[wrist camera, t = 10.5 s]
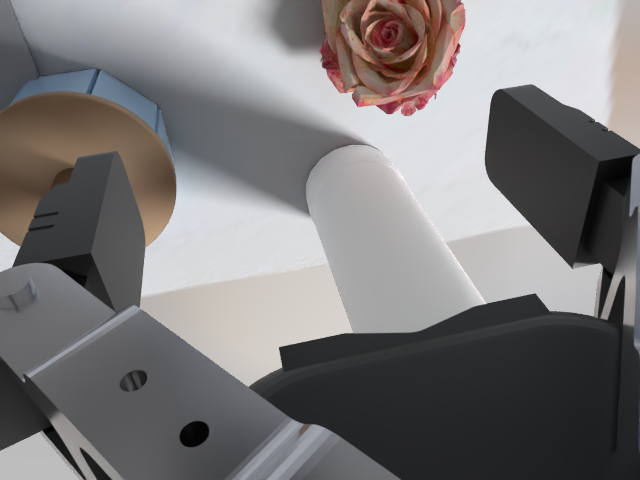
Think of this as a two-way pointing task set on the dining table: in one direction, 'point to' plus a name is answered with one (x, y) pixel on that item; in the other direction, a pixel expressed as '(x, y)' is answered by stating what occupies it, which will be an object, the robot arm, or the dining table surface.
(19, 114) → the lid
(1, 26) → the mat
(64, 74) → the bowl
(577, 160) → the robot arm
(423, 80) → the flower
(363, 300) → the bottle
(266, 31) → the dining table surface
